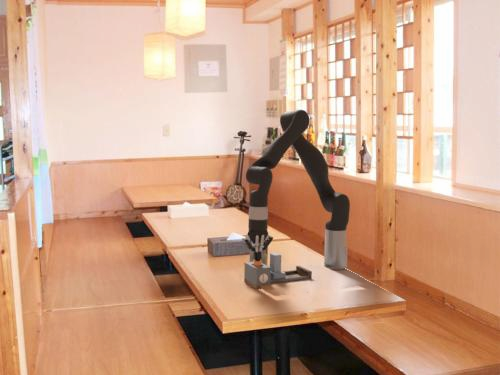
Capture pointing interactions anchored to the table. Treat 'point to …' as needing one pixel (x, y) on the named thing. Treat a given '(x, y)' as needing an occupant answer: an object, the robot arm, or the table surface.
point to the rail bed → (288, 276)
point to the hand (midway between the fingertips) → (257, 260)
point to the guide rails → (289, 278)
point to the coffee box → (263, 257)
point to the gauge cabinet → (257, 273)
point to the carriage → (276, 267)
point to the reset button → (257, 263)
